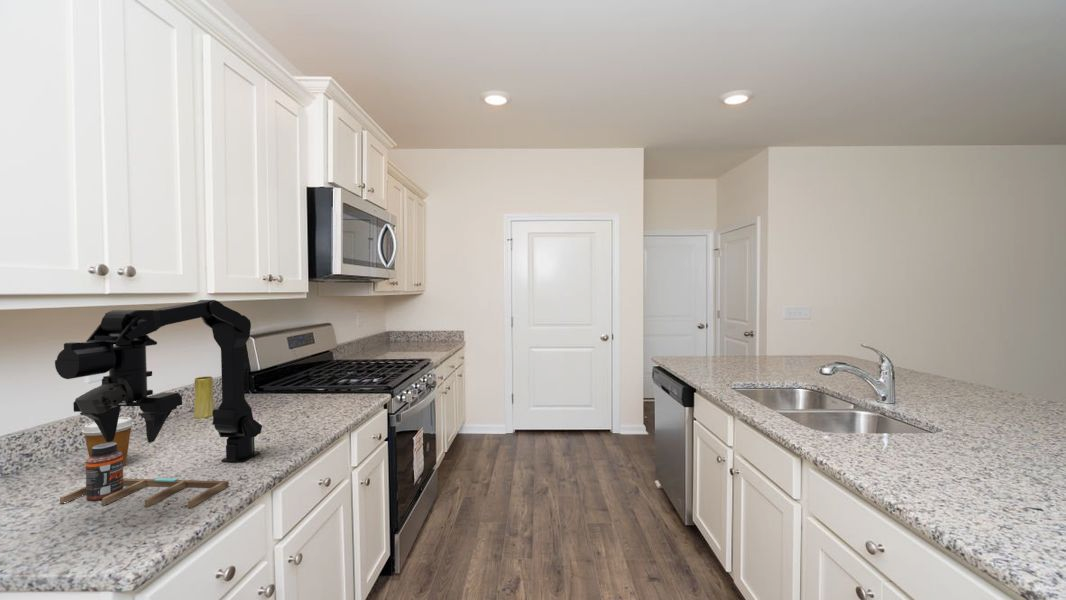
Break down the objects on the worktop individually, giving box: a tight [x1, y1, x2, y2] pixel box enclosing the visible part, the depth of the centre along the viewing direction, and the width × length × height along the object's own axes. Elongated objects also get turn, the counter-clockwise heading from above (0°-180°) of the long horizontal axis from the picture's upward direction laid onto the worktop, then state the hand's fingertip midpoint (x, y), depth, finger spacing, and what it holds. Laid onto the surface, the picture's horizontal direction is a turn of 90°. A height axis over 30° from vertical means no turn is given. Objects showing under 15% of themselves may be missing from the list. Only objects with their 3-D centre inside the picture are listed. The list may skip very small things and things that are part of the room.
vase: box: [193, 375, 215, 419], centre depth 155 cm, size 6×6×14 cm
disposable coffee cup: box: [81, 416, 134, 466], centre depth 110 cm, size 10×10×12 cm
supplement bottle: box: [85, 443, 124, 501], centre depth 95 cm, size 6×6×11 cm
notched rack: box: [59, 477, 230, 509], centre depth 95 cm, size 10×30×2 cm, turn 86°
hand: (130, 441), depth 89 cm, fingers open, 9 cm apart
